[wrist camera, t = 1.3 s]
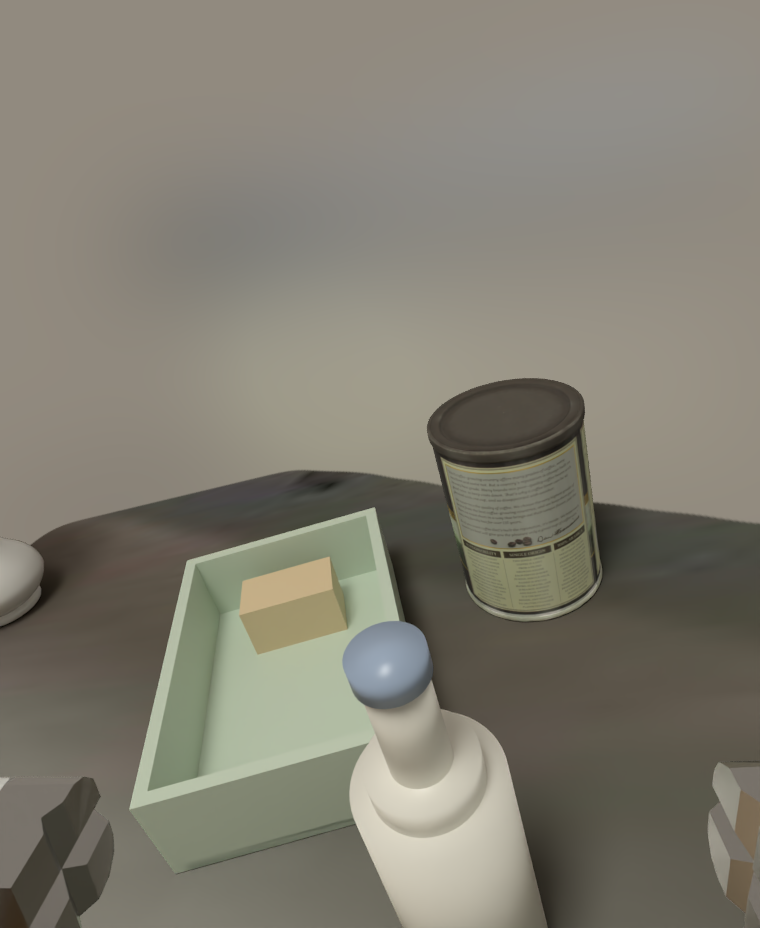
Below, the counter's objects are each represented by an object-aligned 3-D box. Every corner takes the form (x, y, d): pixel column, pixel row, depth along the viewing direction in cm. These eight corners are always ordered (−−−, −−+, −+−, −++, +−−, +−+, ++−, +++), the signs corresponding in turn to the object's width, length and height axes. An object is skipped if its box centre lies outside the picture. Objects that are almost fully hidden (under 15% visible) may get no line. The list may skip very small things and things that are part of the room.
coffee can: (441, 570, 53) (401, 417, 47) (547, 517, 56) (523, 365, 49) (512, 646, 45) (475, 471, 38) (634, 580, 47) (619, 405, 40)
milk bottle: (526, 858, 33) (453, 570, 24) (571, 1001, 27) (500, 699, 19) (409, 890, 33) (294, 615, 24) (432, 1039, 27) (295, 756, 19)
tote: (392, 565, 55) (374, 507, 53) (446, 798, 36) (422, 727, 34) (214, 615, 56) (187, 560, 53) (175, 873, 37) (129, 809, 34)
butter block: (343, 595, 53) (329, 556, 51) (347, 629, 49) (332, 588, 47) (259, 618, 53) (242, 581, 51) (257, 654, 49) (239, 615, 47)
